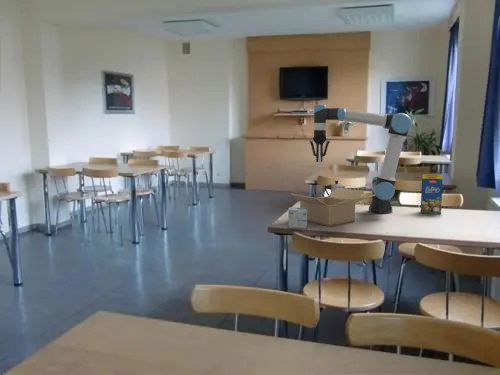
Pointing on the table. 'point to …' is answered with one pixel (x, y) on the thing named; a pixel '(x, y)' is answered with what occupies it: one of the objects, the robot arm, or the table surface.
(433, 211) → the blue food package
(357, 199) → the carton flap
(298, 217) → the light bulb box
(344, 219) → the carton
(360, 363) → the table surface
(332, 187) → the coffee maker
